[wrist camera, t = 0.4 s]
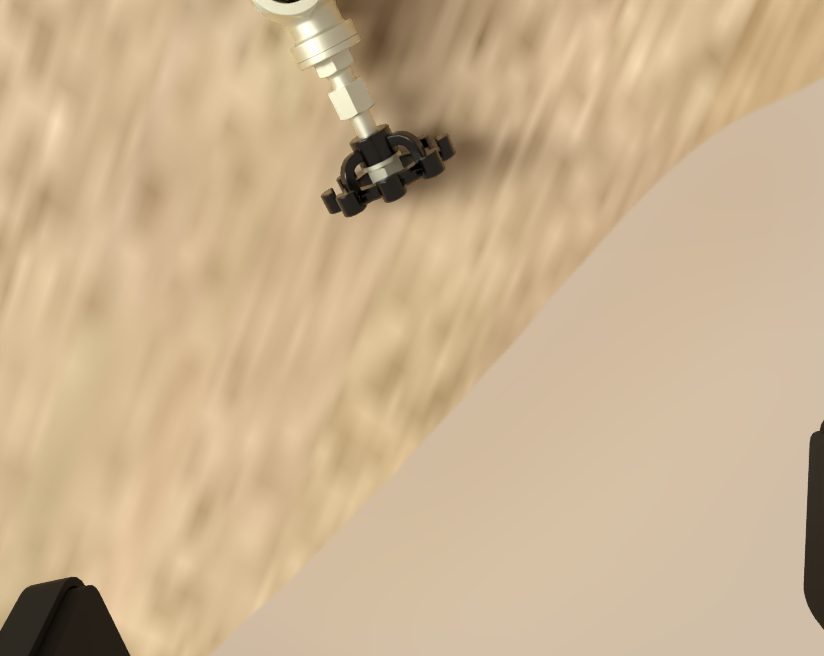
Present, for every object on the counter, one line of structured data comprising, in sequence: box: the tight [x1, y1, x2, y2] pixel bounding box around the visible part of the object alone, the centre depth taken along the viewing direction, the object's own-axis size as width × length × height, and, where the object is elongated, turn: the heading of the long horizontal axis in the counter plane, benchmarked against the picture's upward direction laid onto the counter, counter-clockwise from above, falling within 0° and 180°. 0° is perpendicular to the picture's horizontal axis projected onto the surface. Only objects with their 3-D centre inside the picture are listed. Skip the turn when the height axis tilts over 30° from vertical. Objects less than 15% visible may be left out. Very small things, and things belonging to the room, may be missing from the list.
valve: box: [249, 0, 456, 217], centre depth 32 cm, size 7×7×12 cm
